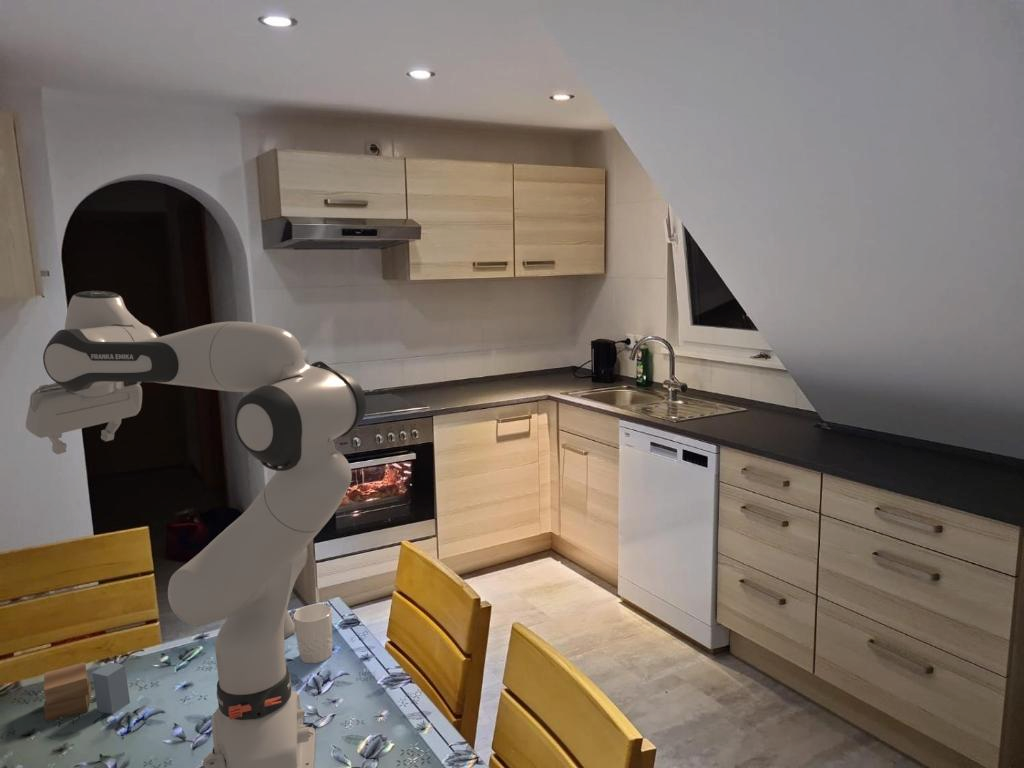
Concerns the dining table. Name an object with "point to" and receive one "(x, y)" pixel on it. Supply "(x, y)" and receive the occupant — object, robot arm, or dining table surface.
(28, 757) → the dining table surface
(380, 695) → the dining table surface
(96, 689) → the pillar
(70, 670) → the tower top
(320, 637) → the white cup
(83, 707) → the tower base
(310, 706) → the dining table surface
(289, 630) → the flask
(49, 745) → the dining table surface
